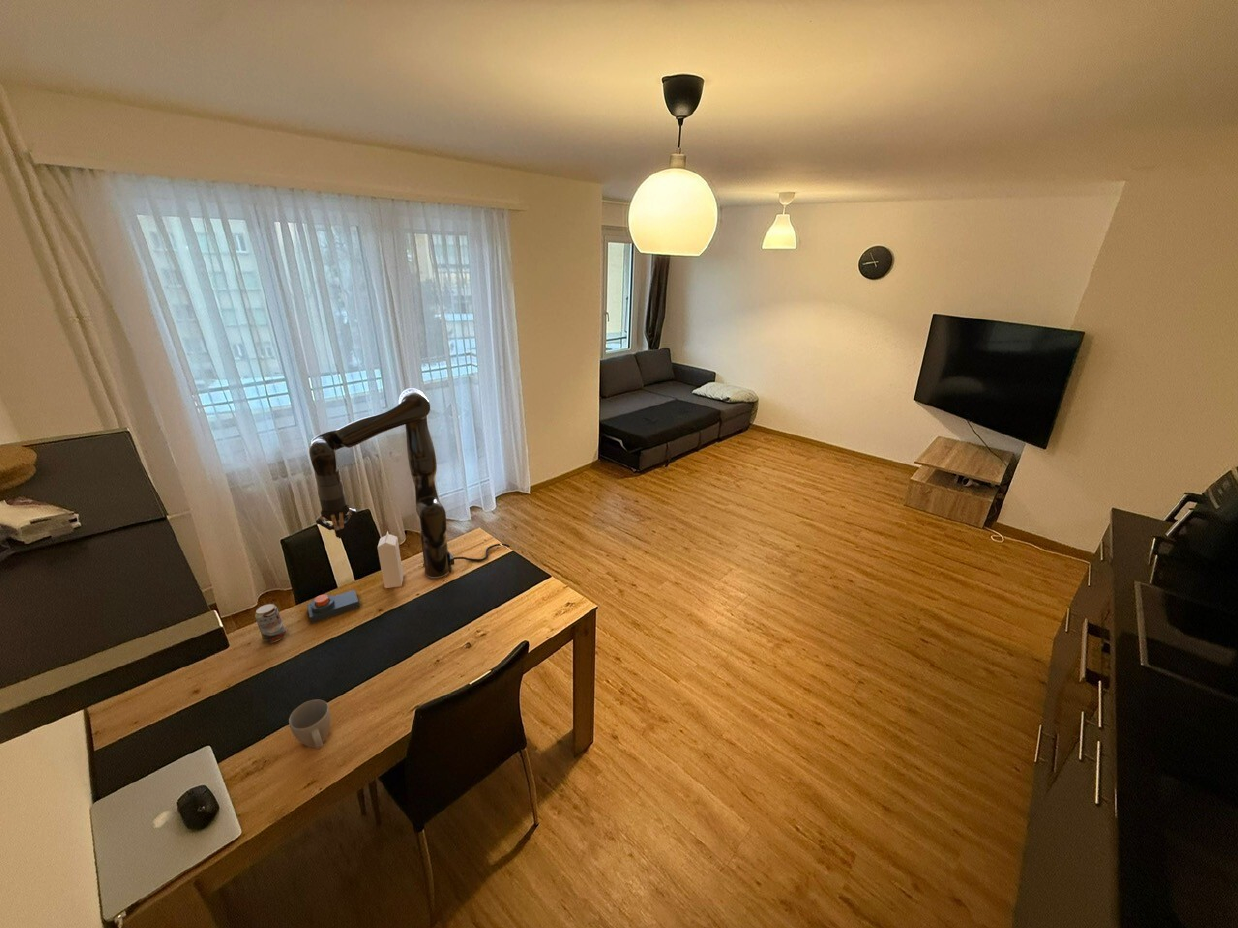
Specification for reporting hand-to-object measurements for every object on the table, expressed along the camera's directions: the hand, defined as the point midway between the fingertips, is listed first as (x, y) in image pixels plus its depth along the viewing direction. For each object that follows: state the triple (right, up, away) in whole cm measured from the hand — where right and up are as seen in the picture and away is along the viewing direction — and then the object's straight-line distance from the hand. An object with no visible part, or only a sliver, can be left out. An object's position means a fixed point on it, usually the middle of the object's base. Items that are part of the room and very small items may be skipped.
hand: (340, 537), depth 169 cm
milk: (+11, -20, +18) cm, 29 cm away
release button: (-6, -23, -1) cm, 24 cm away
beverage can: (-16, -32, -11) cm, 37 cm away
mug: (+18, -48, -41) cm, 66 cm away
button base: (-4, -26, +3) cm, 27 cm away
